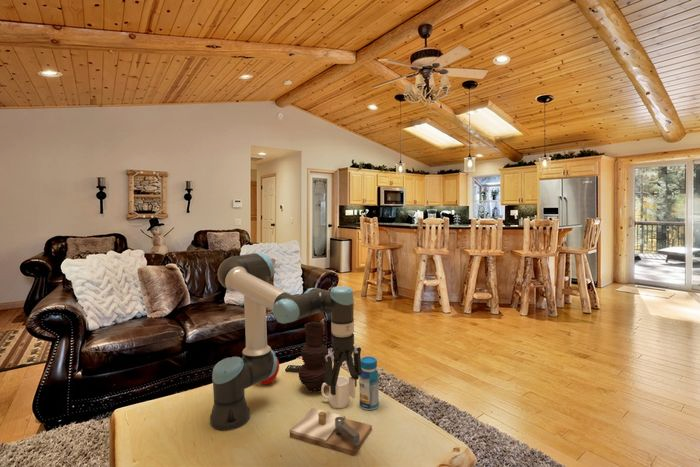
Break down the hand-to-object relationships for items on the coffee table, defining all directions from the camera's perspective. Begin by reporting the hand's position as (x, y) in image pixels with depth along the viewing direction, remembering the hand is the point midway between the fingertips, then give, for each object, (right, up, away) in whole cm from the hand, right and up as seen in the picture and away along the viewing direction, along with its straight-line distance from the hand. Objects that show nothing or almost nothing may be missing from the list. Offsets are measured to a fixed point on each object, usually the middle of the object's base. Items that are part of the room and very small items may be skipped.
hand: (343, 399), depth 129 cm
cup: (-4, -16, +33) cm, 37 cm away
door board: (-5, -18, +13) cm, 22 cm away
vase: (-14, -15, +46) cm, 50 cm away
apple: (-37, -15, +53) cm, 66 cm away
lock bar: (+1, -17, +6) cm, 18 cm away
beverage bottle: (+10, -16, +31) cm, 36 cm away
